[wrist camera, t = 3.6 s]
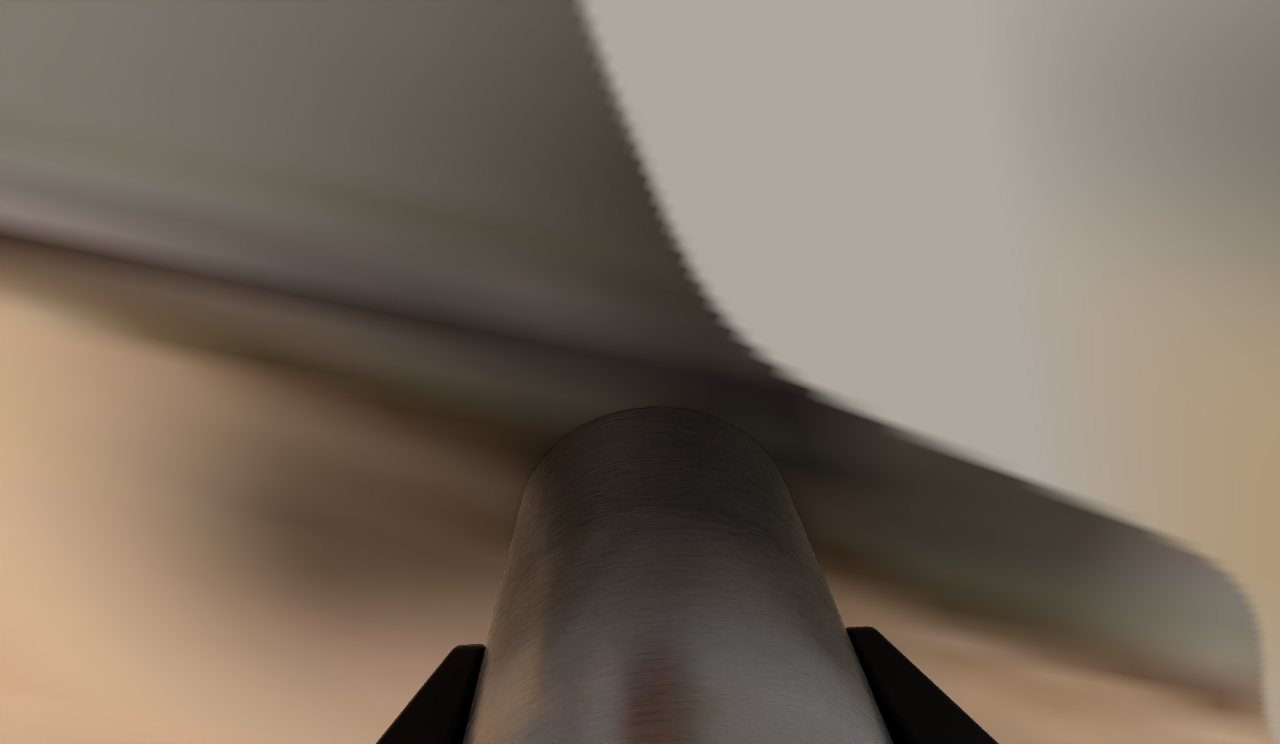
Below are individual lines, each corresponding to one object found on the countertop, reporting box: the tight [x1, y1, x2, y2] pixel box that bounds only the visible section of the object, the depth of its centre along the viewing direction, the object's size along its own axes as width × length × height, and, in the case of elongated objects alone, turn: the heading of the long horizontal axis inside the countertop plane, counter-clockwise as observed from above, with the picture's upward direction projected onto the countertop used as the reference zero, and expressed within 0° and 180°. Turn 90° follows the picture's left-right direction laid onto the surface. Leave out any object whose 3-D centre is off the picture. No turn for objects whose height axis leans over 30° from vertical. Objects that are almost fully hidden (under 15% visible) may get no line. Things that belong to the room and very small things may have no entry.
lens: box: [462, 408, 894, 744], centre depth 8 cm, size 5×5×8 cm
